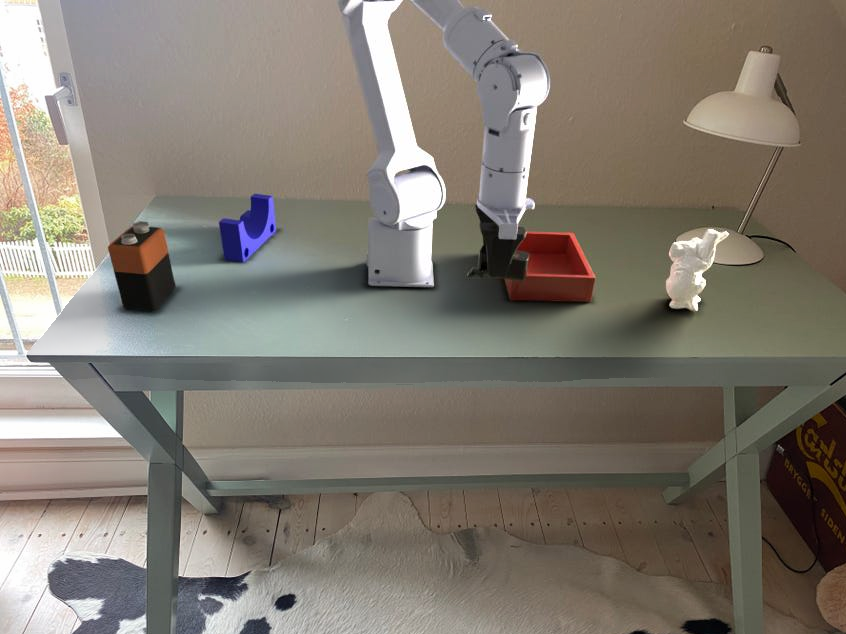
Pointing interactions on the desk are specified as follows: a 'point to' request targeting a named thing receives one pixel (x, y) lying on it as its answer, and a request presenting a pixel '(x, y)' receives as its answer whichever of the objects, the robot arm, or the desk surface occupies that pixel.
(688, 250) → the koala figurine
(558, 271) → the red open box
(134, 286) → the battery
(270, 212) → the blue pipe saddle mount
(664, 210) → the desk surface
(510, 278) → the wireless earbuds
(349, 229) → the desk surface
